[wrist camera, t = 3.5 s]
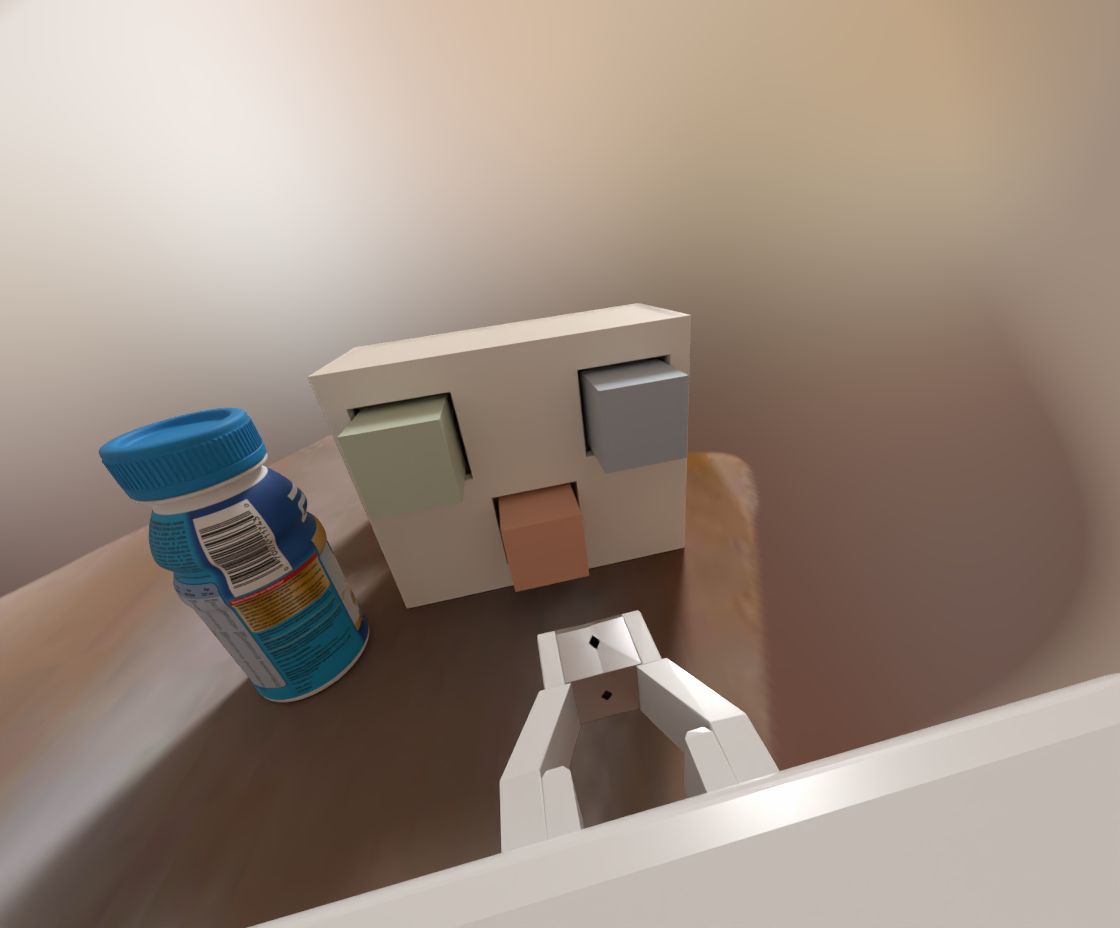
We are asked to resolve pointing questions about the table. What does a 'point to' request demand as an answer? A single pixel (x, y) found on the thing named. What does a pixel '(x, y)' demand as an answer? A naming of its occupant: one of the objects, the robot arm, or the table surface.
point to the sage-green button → (406, 455)
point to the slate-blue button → (635, 413)
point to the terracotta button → (543, 536)
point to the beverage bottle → (243, 549)
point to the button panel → (515, 440)
